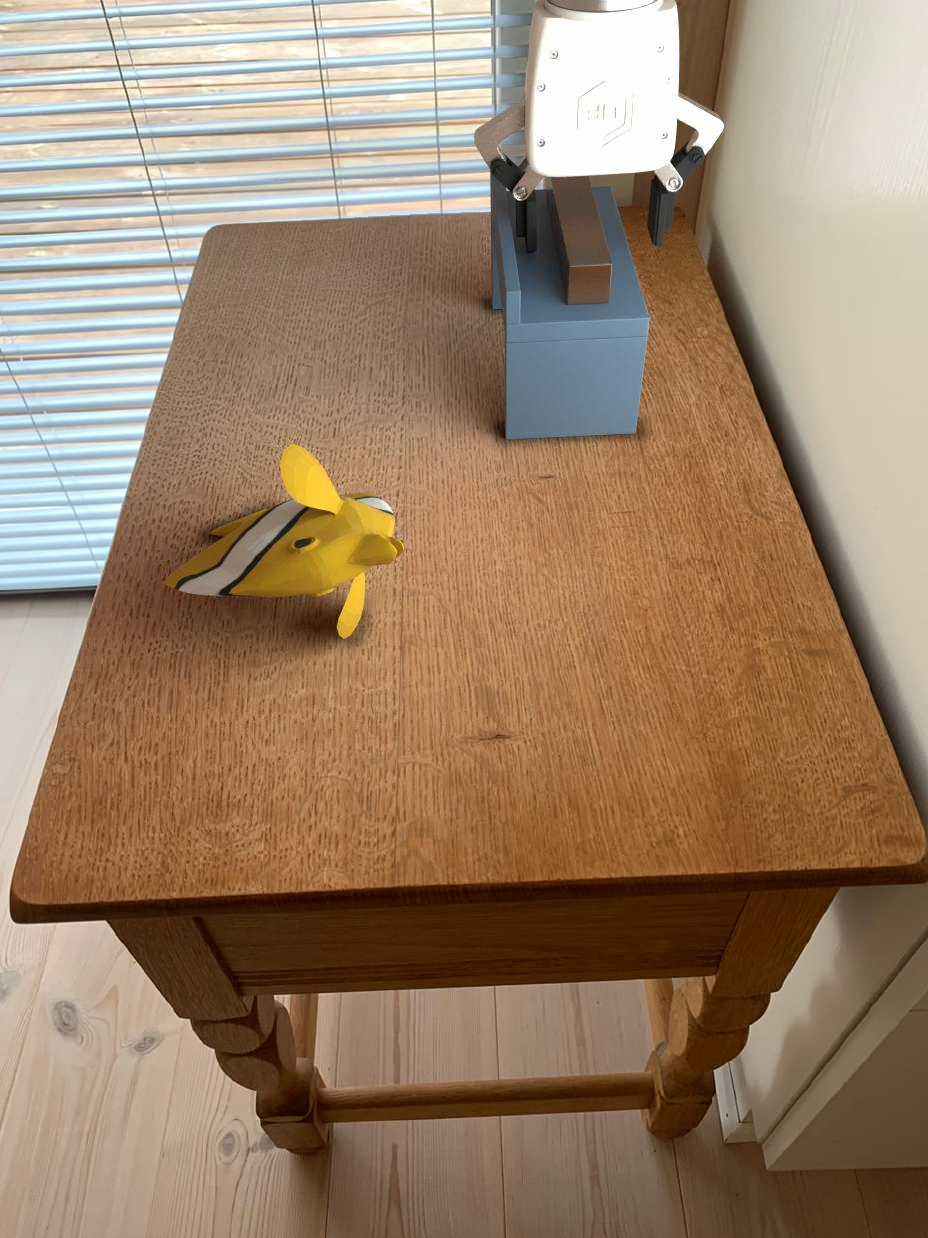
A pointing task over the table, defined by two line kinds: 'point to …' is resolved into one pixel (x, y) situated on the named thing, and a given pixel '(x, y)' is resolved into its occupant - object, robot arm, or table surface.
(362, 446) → the table surface
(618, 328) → the blue stepped block
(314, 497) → the fish
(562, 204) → the stick
